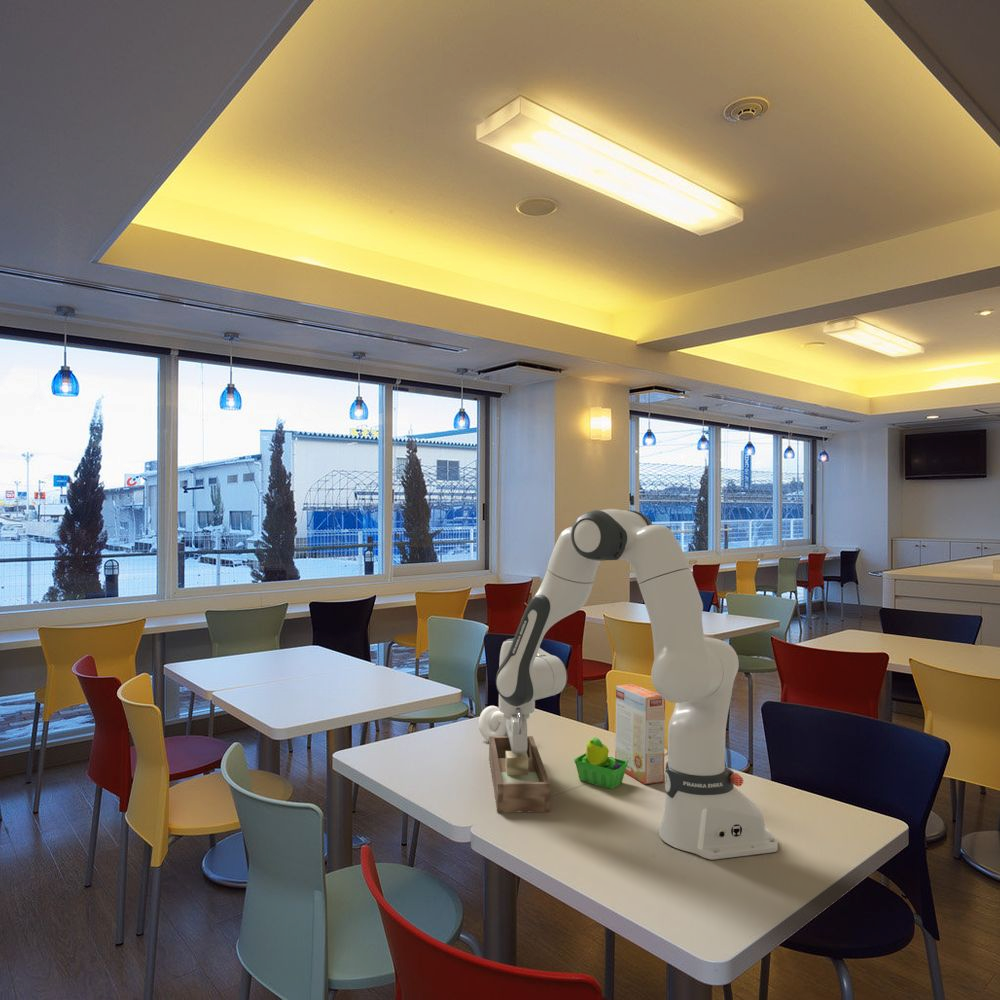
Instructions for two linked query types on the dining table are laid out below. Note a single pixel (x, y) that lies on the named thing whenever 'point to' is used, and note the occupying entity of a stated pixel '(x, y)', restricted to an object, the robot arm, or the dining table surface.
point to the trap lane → (518, 779)
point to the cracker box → (640, 732)
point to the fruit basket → (600, 766)
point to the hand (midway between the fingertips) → (515, 760)
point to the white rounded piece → (492, 723)
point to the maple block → (516, 763)
